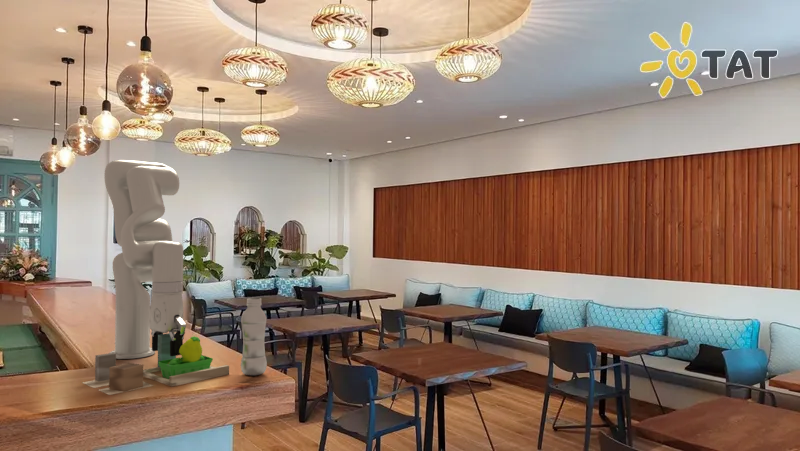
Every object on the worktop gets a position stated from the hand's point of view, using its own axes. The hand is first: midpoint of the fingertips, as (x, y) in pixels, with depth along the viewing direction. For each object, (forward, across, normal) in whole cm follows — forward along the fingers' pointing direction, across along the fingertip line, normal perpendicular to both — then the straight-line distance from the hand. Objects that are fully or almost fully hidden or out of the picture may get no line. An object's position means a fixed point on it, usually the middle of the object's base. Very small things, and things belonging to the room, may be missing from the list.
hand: (167, 352), depth 145 cm
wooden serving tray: (+5, +8, 0) cm, 10 cm away
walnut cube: (+4, +10, -15) cm, 19 cm away
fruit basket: (+6, +10, 0) cm, 12 cm away
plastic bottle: (+6, +19, +14) cm, 24 cm away
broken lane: (+5, +6, -15) cm, 17 cm away
